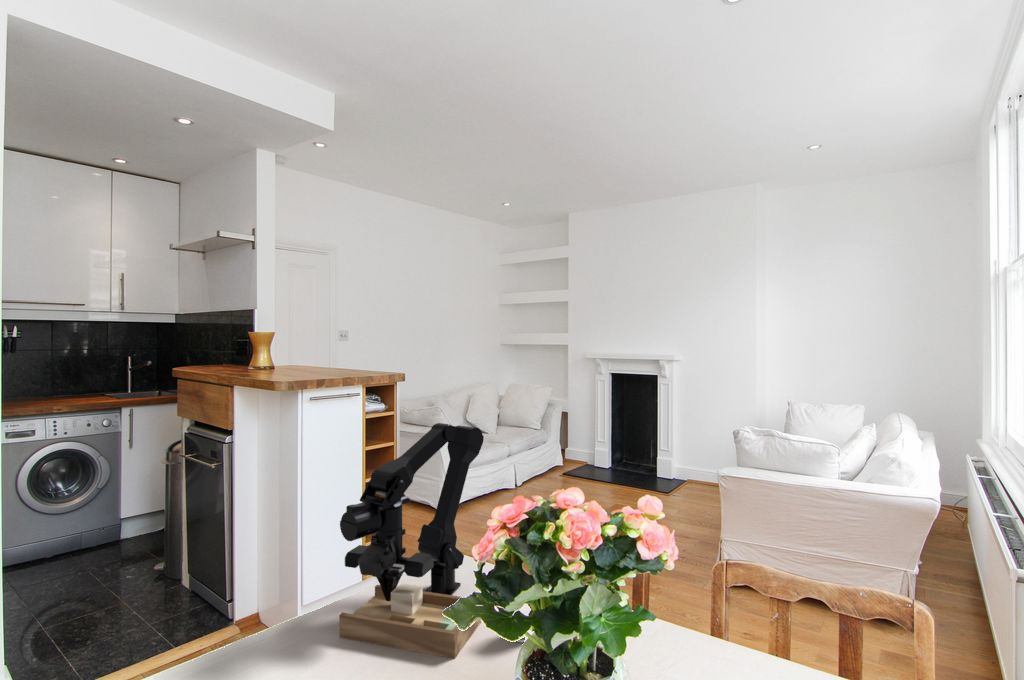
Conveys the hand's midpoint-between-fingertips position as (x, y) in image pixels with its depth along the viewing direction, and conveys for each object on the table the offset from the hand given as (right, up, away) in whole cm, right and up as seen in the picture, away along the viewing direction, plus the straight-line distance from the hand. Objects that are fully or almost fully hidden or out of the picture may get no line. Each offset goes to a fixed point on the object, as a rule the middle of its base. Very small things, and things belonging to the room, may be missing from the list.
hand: (388, 600), depth 116 cm
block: (+4, -1, -1) cm, 4 cm away
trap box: (+5, -4, -5) cm, 8 cm away
